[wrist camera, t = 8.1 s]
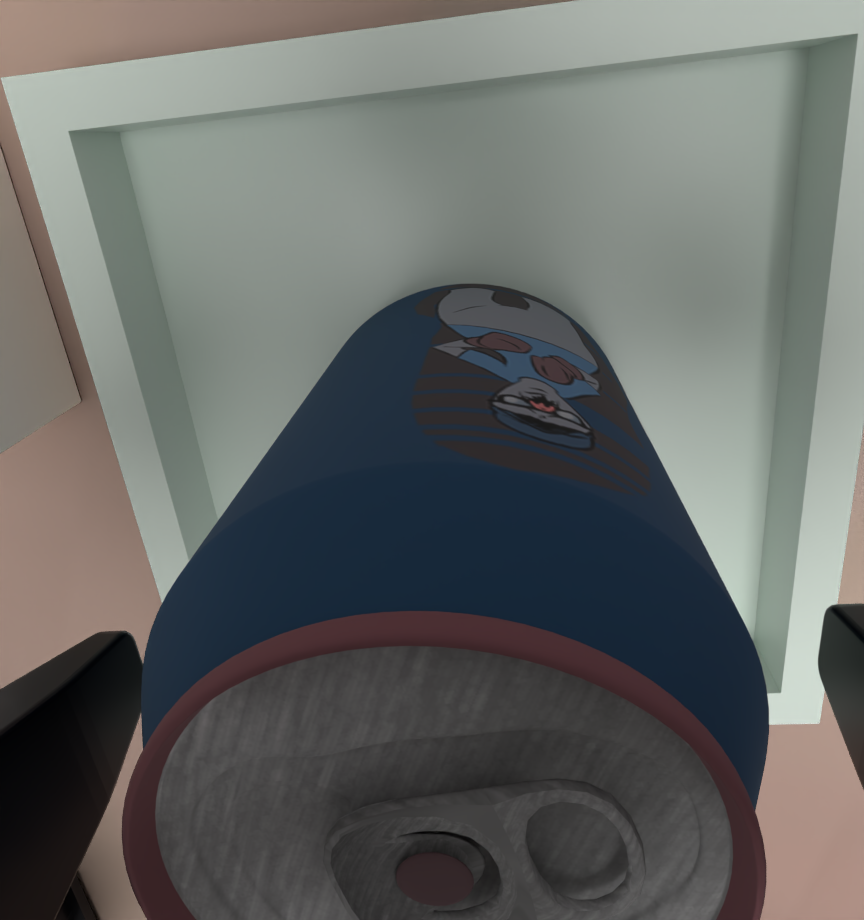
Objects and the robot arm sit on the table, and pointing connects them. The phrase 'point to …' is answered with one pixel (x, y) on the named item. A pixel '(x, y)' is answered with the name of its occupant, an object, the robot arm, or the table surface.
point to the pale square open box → (27, 333)
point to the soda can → (452, 655)
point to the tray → (490, 250)
